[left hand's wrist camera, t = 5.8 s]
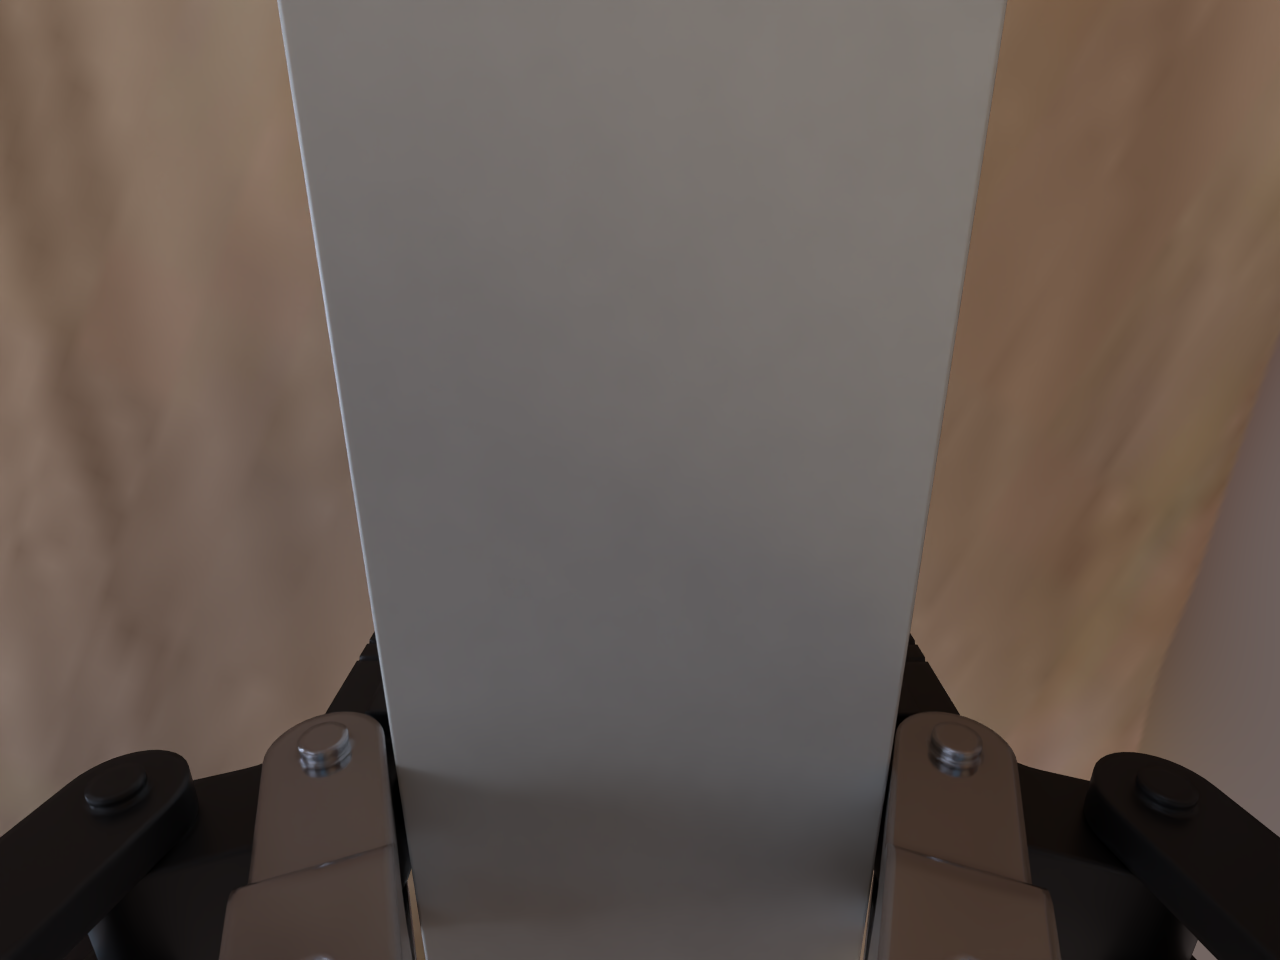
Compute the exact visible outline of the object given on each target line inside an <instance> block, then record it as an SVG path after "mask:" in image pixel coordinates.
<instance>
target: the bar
mask: <svg viewBox="0 0 1280 960" xmlns="http://www.w3.org/2000/svg"><path fill="white" fill-rule="evenodd" d="M277 2H278V9H279V15H280V21H281V28H282V34H283V41H284V47H285V54H286V60H287V67H288V73H289V80H290V86H291V93H292V99H293V105H294V112H295V118H296V125H297V131H298V138H299V144H300V151H301V157H302V164H303V170H304V177H305V183H306V189H307V196H308V202H309V209H310V215H311V222H312V228H313V235H314V241H315V248H316V254H317V261H318V267H319V273H320V280H321V286H322V293H323V299H324V306H325V312H326V319H327V325H328V332H329V338H330V345H331V351H332V357H333V364H334V370H335V377H336V383H337V390H338V396H339V403H340V409H341V416H342V422H343V428H344V435H345V441H346V448H347V454H348V461H349V467H350V474H351V480H352V487H353V493H354V500H355V506H356V512H357V519H358V525H359V532H360V538H361V545H362V551H363V558H364V564H365V571H366V577H367V584H368V590H369V596H370V603H371V609H372V616H373V622H374V629H375V635H376V642H377V648H378V655H379V661H380V668H381V674H382V680H383V687H384V693H385V700H386V706H387V713H388V719H389V726H390V732H391V739H392V745H393V752H394V758H395V764H396V771H397V777H398V784H399V790H400V797H401V803H402V810H403V816H404V823H405V829H406V835H407V842H408V848H409V855H410V861H411V868H412V874H413V881H414V887H415V894H416V900H417V907H418V913H419V919H420V926H421V932H422V939H423V945H424V952H425V958H426V960H860V954H861V947H862V941H863V934H864V928H865V921H866V915H867V908H868V902H869V895H870V889H871V882H872V876H873V869H874V863H875V856H876V850H877V843H878V837H879V830H880V824H881V817H882V811H883V804H884V798H885V791H886V785H887V778H888V772H889V765H890V759H891V752H892V746H893V739H894V733H895V726H896V720H897V713H898V707H899V700H900V694H901V687H902V681H903V674H904V668H905V661H906V655H907V648H908V642H909V635H910V629H911V622H912V616H913V609H914V603H915V596H916V590H917V583H918V577H919V570H920V564H921V557H922V551H923V544H924V538H925V531H926V525H927V518H928V512H929V505H930V499H931V492H932V486H933V479H934V473H935V466H936V460H937V453H938V447H939V440H940V434H941V427H942V421H943V414H944V408H945V401H946V395H947V388H948V382H949V375H950V369H951V362H952V356H953V349H954V343H955V336H956V330H957V323H958V317H959V310H960V304H961V297H962V291H963V284H964V278H965V271H966V265H967V258H968V252H969V245H970V239H971V232H972V226H973V219H974V213H975V206H976V200H977V193H978V187H979V180H980V174H981V167H982V161H983V154H984V148H985V142H986V135H987V129H988V122H989V116H990V109H991V103H992V96H993V90H994V83H995V77H996V70H997V64H998V57H999V51H1000V44H1001V38H1002V31H1003V25H1004V18H1005V12H1006V5H1007V0H277Z"/></svg>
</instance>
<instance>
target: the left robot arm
mask: <svg viewBox="0 0 1280 960" xmlns="http://www.w3.org/2000/svg"><path fill="white" fill-rule="evenodd" d="M410 871H411V861H410V855H409V848H408V842H407V835H406V829H405V823H404V816H403V810H402V803H401V797H400V790H399V784H398V777H397V771H396V764H395V758H394V752H393V745H392V739H391V732H390V726H389V719H388V713H387V706H386V700H385V693H384V687H383V680H382V674H381V668H380V661H379V655H378V648H377V642H376V635H375V632H374V633H373V635H372V637H371V638H370V643H369V644H367V645H366V647H365V648H364V650H363V652H362V653H361V655H360V660H359V661H357V662H356V663H355V665H354V667H353V668H352V670H351V672H350V673H349V675H348V677H347V678H346V680H345V682H344V683H343V685H342V687H341V688H340V690H339V692H338V693H337V695H336V697H335V698H334V700H333V702H332V703H331V705H330V707H329V708H328V710H327V712H326V713H325V714H323V715H320V716H316V717H313V718H311V719H308V720H305V721H303V722H301V723H299V724H297V725H295V726H294V727H292V728H290V729H289V730H287V731H286V732H285V733H283V734H282V735H281V736H279V737H278V738H277V739H276V740H275V741H274V742H273V744H272V745H271V746H270V748H269V749H268V750H267V752H266V754H265V756H264V760H263V764H260V765H257V766H253V767H250V768H246V769H242V770H237V771H233V772H228V773H224V774H219V775H215V776H211V777H206V778H202V779H197V780H193V779H192V776H191V772H190V769H189V766H188V763H187V761H186V760H185V759H184V758H183V757H182V756H180V755H178V754H177V753H174V752H170V751H165V750H147V751H139V752H134V753H130V754H126V755H123V756H120V757H116V758H114V759H111V760H109V761H106V762H104V763H101V764H99V765H97V766H95V767H93V768H91V769H90V770H88V771H86V772H85V773H83V774H81V775H80V776H78V777H77V778H75V779H74V780H73V781H71V782H70V783H68V784H67V785H66V786H65V787H63V788H62V789H61V790H60V791H58V792H57V793H56V794H55V795H53V796H52V797H51V798H50V799H48V800H47V801H46V802H45V803H43V804H42V805H41V806H39V807H38V808H37V809H36V810H34V811H33V812H32V813H31V814H29V815H28V816H27V817H26V818H24V819H23V820H22V821H21V822H19V823H18V824H17V825H15V826H14V827H13V828H12V829H10V830H9V831H8V832H7V833H5V834H4V835H3V836H2V837H0V960H417V958H416V949H415V940H414V930H413V921H412V912H411V903H410V894H409V888H408V882H407V880H408V877H409V874H410ZM1197 940H1199V941H1200V942H1201V943H1202V944H1203V945H1204V946H1205V947H1206V948H1207V949H1208V950H1209V951H1210V952H1211V953H1212V954H1213V955H1214V956H1215V957H1216V959H1218V960H1280V837H1278V836H1277V835H1276V834H1275V833H1273V832H1272V831H1271V830H1269V829H1268V828H1267V827H1266V826H1265V825H1263V824H1262V823H1261V822H1259V821H1258V820H1257V819H1256V818H1254V817H1253V816H1252V815H1251V814H1249V813H1248V812H1247V811H1246V810H1244V809H1243V808H1242V807H1240V806H1239V805H1238V804H1237V803H1236V802H1234V801H1233V800H1232V799H1230V798H1229V797H1228V796H1227V795H1225V794H1224V793H1223V792H1222V791H1220V790H1219V789H1218V788H1217V787H1215V786H1214V785H1213V784H1211V783H1210V782H1208V781H1207V780H1206V779H1204V778H1203V777H1201V776H1199V775H1198V774H1196V773H1194V772H1193V771H1191V770H1189V769H1187V768H1185V767H1183V766H1181V765H1178V764H1176V763H1174V762H1171V761H1169V760H1166V759H1162V758H1159V757H1156V756H1152V755H1147V754H1142V753H1135V752H1120V753H1113V754H1109V755H1106V756H1104V757H1103V758H1101V759H1100V760H1099V761H1098V762H1097V763H1096V765H1095V767H1094V769H1093V773H1092V776H1091V780H1090V781H1087V780H1082V779H1078V778H1074V777H1069V776H1065V775H1060V774H1056V773H1051V772H1047V771H1043V770H1039V769H1035V768H1031V767H1028V766H1025V765H1022V764H1019V763H1017V760H1016V756H1015V754H1014V752H1013V750H1012V749H1011V748H1010V746H1009V745H1008V744H1007V742H1006V741H1005V740H1004V739H1003V738H1002V737H1001V736H999V735H998V734H997V733H995V732H994V731H993V730H991V729H990V728H988V727H986V726H985V725H983V724H981V723H979V722H977V721H975V720H972V719H969V718H967V717H964V716H960V714H959V712H958V711H957V709H956V708H955V706H954V704H953V703H952V701H951V699H950V698H949V696H948V694H947V693H946V691H945V689H944V688H943V686H942V685H941V683H940V681H939V680H938V678H937V676H936V675H935V673H934V671H933V670H932V668H931V666H930V665H929V663H928V662H925V657H924V655H923V653H922V652H921V650H920V648H919V647H918V645H915V640H914V639H913V637H912V635H911V634H910V635H909V642H908V648H907V655H906V661H905V668H904V674H903V681H902V687H901V694H900V700H899V707H898V713H897V720H896V726H895V733H894V739H893V746H892V752H891V759H890V765H889V772H888V778H887V785H886V791H885V798H884V804H883V811H882V817H881V824H880V830H879V837H878V843H877V850H876V856H875V863H874V875H873V882H872V888H871V894H870V903H869V912H868V921H867V930H866V940H865V949H864V958H863V960H1196V959H1195V958H1194V957H1193V955H1192V953H1193V951H1194V948H1195V945H1196V943H1197Z"/></svg>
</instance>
